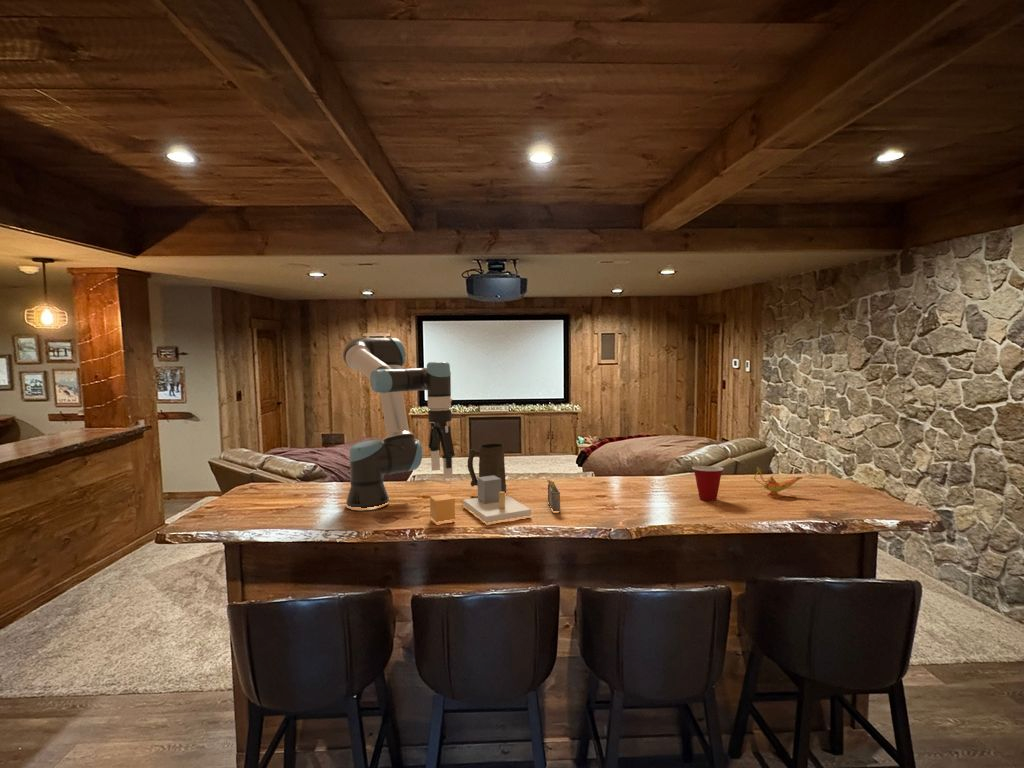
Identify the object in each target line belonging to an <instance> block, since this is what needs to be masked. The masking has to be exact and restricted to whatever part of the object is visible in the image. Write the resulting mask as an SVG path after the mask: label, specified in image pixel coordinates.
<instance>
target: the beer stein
mask: <svg viewBox="0 0 1024 768" xmlns="http://www.w3.org/2000/svg"><path fill="white" fill-rule="evenodd" d="M505 451H506V450H505V445H504V444H503V443H486V444H480V445H479V449H478V450H476V449H474V448H471V449H469V454H468V458H467V470H468V473H469V475H470V478H471V481H470V486H471V487H474V486H475V487H476V486H477V487H478V480H477V475H476V473H475V469H474V457H478V459H479V461H478V477H484V476H492V475H494V476H496V477H498V478H500V479H501V492H505V493H506V492H507V484H506V465H505Z"/></svg>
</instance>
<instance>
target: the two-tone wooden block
mask: <svg viewBox="0 0 1024 768" xmlns="http://www.w3.org/2000/svg"><path fill="white" fill-rule="evenodd" d="M455 499H456V498H454V496H452V495H451V494H450V493H446V494H437V495H431V496H429V503H430V505H429V506H430V507H429V508H430V509H429V510H430V511H429V512H430V513H429V514H430V518H431V517H432V518H433V519H434V520H435V521H436V522H438V521H444V520H450V519H455V520H456V507H455V506H456V505H455V504H456V503H455V501H456V500H455Z"/></svg>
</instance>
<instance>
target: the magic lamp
mask: <svg viewBox="0 0 1024 768" xmlns="http://www.w3.org/2000/svg"><path fill="white" fill-rule="evenodd" d="M756 470H757V472H756V473H755V475H754V477H753V478H754V480H755V482H757V483H759V484H761V486H763V489H762V488H760V490H762V491H764V490H767V491H770V492H769V493H767V494H766V496H767V497H770V498H774V497H775V499H776V498H782V497H783V496H782V495H781V494H779V493H778V492H782V491H784V490H785V489H787V488H790V487H791V486H793V485H794V484H795V483H796V482H798V481H799V480H801V479H803V476H798V477H795V478H792V479H790V480H787V481H780V482H777V481H776V480H775V478H774V476H773V475H771V476H770V477H769V478H768V479H767V480H765V479H764V478H763V474H762V468H761V467H758V466H756ZM758 474H759V476H760V479H761V480H762V482H764V483H762V482H760V481H758V480H757V478H756V476H757V475H758Z"/></svg>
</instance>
